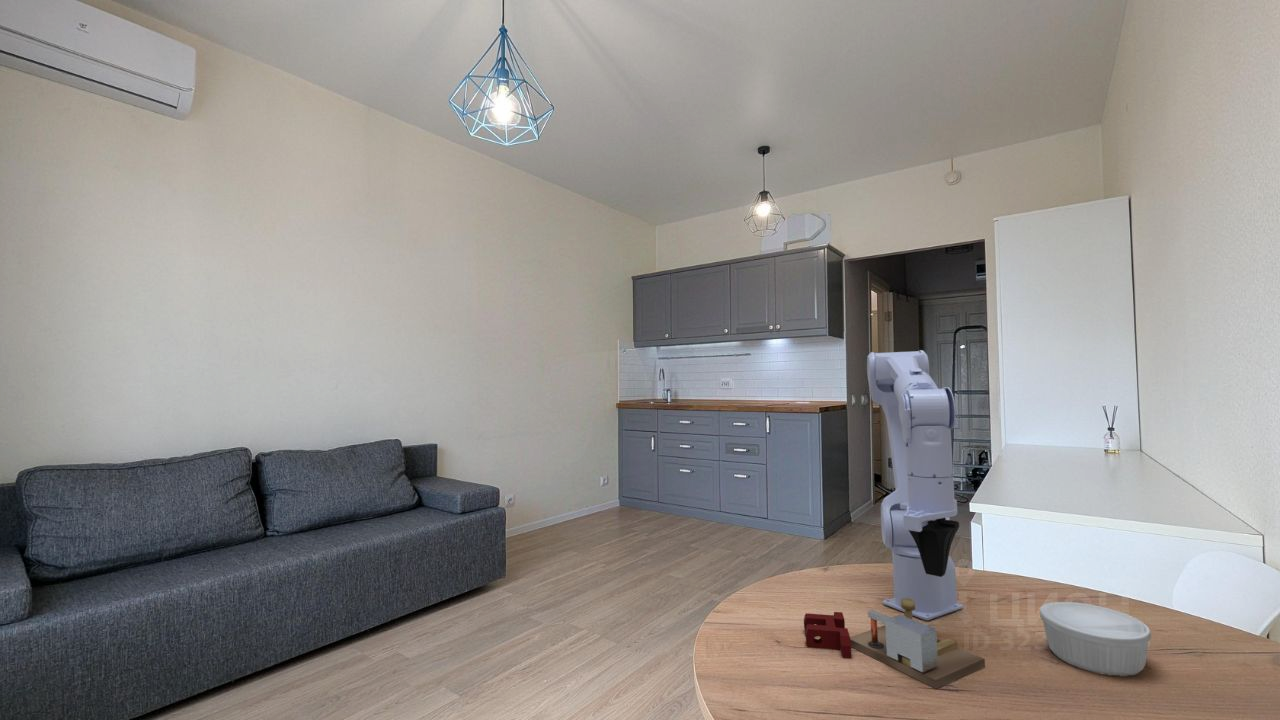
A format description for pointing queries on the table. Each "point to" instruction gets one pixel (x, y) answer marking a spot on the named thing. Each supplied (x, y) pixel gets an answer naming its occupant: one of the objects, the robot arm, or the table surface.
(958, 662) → the board
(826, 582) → the table surface
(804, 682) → the table surface
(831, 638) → the bracket
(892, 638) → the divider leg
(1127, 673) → the ramekin
